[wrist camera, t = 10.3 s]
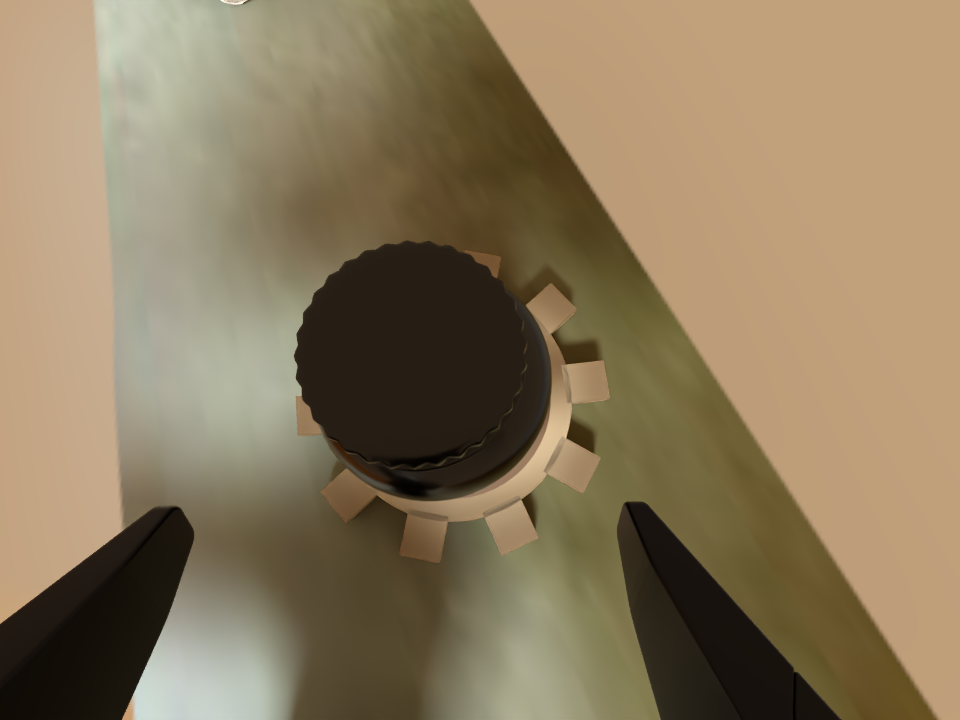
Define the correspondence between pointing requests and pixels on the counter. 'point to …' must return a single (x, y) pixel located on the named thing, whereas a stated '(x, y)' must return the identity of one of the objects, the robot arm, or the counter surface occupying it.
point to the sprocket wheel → (505, 494)
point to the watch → (234, 1)
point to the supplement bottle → (423, 371)
